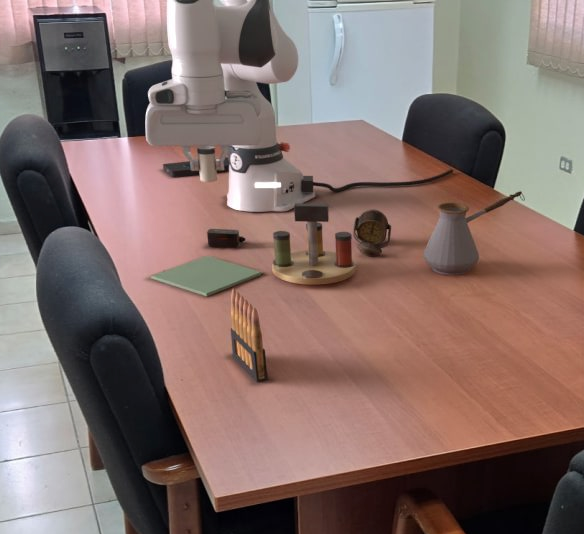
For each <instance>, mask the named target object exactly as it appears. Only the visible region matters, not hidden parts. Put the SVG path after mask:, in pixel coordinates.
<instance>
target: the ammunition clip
mask: <svg viewBox="0 0 584 534" xmlns="http://www.w3.org/2000/svg"><path fill="white" fill-rule="evenodd" d="M230 295H231V296H230V306H231V307H230V310H231V311H230V319H231V328H230V339H231V340H230V341H231V349H232V350H231V351H232V358H233V359H234V360H236V362H237V363H238V364H239V365H240V366H241V367H242V368H243V370H244V371H245V372H246V373H247V374H248V375H249V376H250V377H251V378H252V379H253V380H254V381H255V383H259V382H263V381H268V379H269V377H268V368H267V358H266V357H267V356H266V349H265V348H264V344H263V343H264V342H263V333H262V330H261V322H260V317H259V313H258V310H257V308H256V307H253V304H251V303H249V302H248V300H247V299H245V297H244V296H243V295H240V292H239V291H237V290H236V289H235V288H232V290H231V294H230Z"/></svg>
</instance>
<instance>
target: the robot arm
mask: <svg viewBox="0 0 584 534" xmlns="http://www.w3.org/2000/svg"><path fill="white" fill-rule="evenodd" d="M218 1H219V2H220V3H221V4H222V5H216V4H215V0H166V25H165V26H166V36H167V44H168V49H169V51H170V54H171V58H172V64H171V79H168V80H165V81H162V82H159V83H156V84H153V85H152V86H151V87H150V88H149V89H148V91H147V98H148V101H149V104H148V105H147V108H146V112H145V122H144V123H145V140H146V142H147V143H148V145H150V147H182V153H183V155H184V156H185V157H186V159H187V161H190V165H191V171H199V162H198V158H194V156H193V155H192V153H191V151H192V147H198V146H213V147H215V146H216V147H218V146H219V148H220V149H219V150H220V152H221V154H220V157H219V158H220V159H216V158H215V164H216V170H224V162H223V161H224V160H225V158H226V157H228V160H229V163H230V165H229V171H228V192H227V193H226V199H227V201H226V205H227V207H229V208H231V209H233V210H237V211H241V212H251V213H262V212H288V211H290V210H292V209H294V205H295V203H298V204H305V203H306V202H308V201H310V200H312V199H314V198H316V193H315V192H314V187H320V188H321V187H322V188H327V189H328V190H330V192H332V193H340V192H342V191H345V190H348V189H350V188H354V187H355V188H356V187H405V186H406V187H407V186H414V185H415V186H416V185H421V184H426V183H431V182H433V181H437V180H440V179H442V178H444V177H446V176H449V175H451V174H452V173H454V170H453V169H448V170H446V171H445V172H443V173H440V174H438V175H435V176H431V177H428V178H424V179H418V180H411V181H409V180H408V181H391V182H388V181H387V182H384V181H383V182H378V181H376V182H375V181H358V182H351V183H348V184H346V185H343V186H341V187H333V186H332V185H330V184H328V183H325V182H316V181H314V175H304V173H303V172H302V171H301V170H300V169H299V168H297V167H296V166H295V165H294V164H292V163H291V162H290V161H288V160H287V159H286V158H285V157H284V154H283V152H285V153H288V152H290V150H291V145H290V144H289V143H288V142H283V141H281V142H280V143H278V141H277V139H278V138H277V126H276V125H277V123H276V112H275V108H274V107H273V105H272V104H271V102H270V101H269V100H268V99H267V98H265V96H264V95H263V94H262V92H261V91H260V89H259V86H258V83H260V84H265V85H271V84H281V83H287V82H289V81H290V80H292V79H293V77H294V76H295V74H296V72H297V70H298V66H299V53H298V48H297V46H296V44H295V42H294V41H293V39H292V38H291V37H290V36H289V35H287V33H286V32H285V30H283V28H282V26H281V25H280V23H279V20H278V19H277V17H276V14H275V12H274V10H273V7H272V4H271V0H218Z"/></svg>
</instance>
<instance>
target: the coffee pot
mask: <svg viewBox="0 0 584 534" xmlns="http://www.w3.org/2000/svg"><path fill="white" fill-rule="evenodd" d="M522 197H523V198H522ZM515 198H520V199H521V201H523V202H524V201H525V200H526V197H525V195H524V194H523V192H522V190H520V191H516V192H515V193H514V194H509V196H507V197H504V198H500V199H499V200H497V201H495V202H494V203H492V204H490V205H489V206H486V207H485V208H484V209H482V210H480V211H477V212H476V213H474V214H471V215H470V216H467V212H469V210H470V207H469V206H468V205H467V204H463V203H460V202H443V203H439V204H438V205H437V206H436V210H437V211H438V214H439V217H438V219H437V222H436V225H435V226H434V229H433V232H432V233H431V236H430V238H429V240H428V243H427V244H426V246H425V249H424V251H423V256H422V257H423V259H424V261H425V263H426V264H427V265H428V266H429V267H430V268H431V270H432V271H434V272H435V273H437V274H440V275H446V276H460V275H464V274H467V273H468V272H470V270H471V269H473V268H474V267H475V266H476V265H477V263H478V261H479V259H480V254H479V251H478V248H477V245H476V243H475V240H474V238H473V235H472V232H471V230H470V226H469V224H468V223H470V222H471V221H473V220H475V219H477V218H479V217H481V216H483V215H485V214H487V213H489V212H492V211H495V210H496V209H498V208H501V207H503V206H505V205H506V204H507V203H509V202H511V201H514V199H515ZM466 216H467V217H466Z"/></svg>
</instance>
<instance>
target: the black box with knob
mask: <svg viewBox="0 0 584 534" xmlns="http://www.w3.org/2000/svg"><path fill="white" fill-rule="evenodd" d="M206 237H207V245H208V247H210V248H223V249H237V248H238V247H239V246H240V244H243V243H244V242H246V238H245V237H244V236H242V235H241V236H240V231H239V230H238V229H226V228H225V229H224V228H209V229H208V230H207V231H206Z"/></svg>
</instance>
